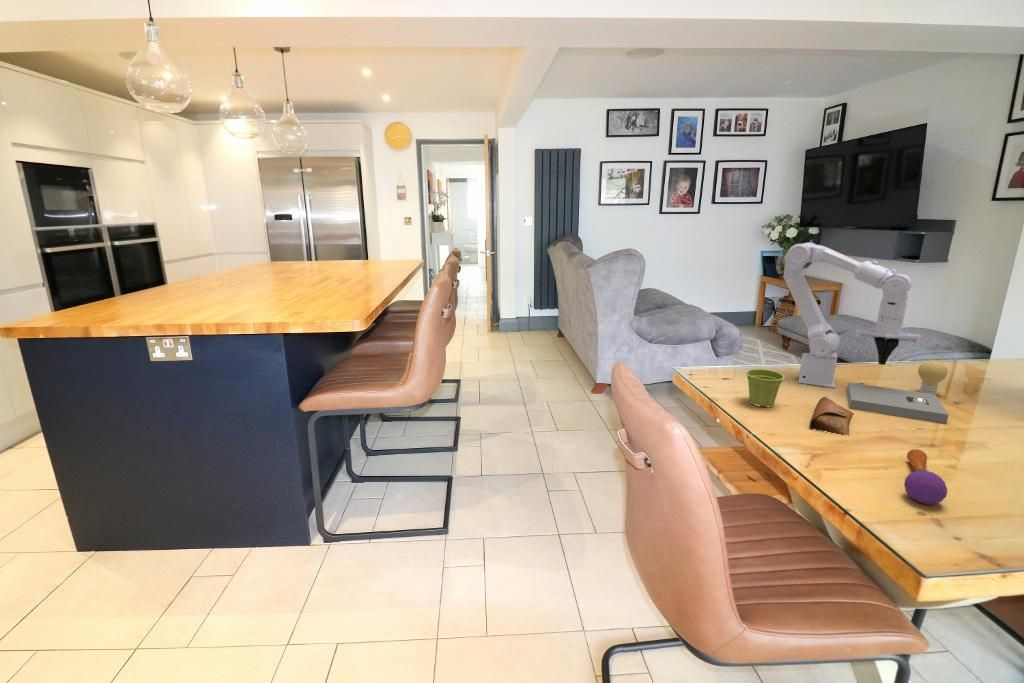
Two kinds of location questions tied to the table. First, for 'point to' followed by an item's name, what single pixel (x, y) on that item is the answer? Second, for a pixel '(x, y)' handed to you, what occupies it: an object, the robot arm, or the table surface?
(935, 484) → the purple maraca
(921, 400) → the steel ball
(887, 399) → the hole deck
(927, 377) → the light bulb
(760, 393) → the plant pot
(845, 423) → the sunglasses case
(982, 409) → the table surface
